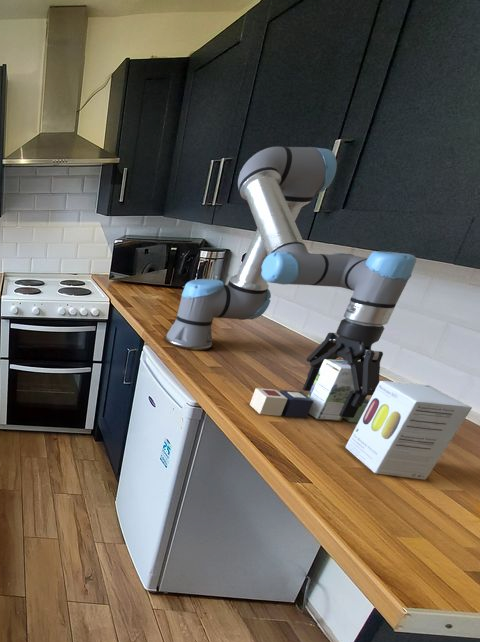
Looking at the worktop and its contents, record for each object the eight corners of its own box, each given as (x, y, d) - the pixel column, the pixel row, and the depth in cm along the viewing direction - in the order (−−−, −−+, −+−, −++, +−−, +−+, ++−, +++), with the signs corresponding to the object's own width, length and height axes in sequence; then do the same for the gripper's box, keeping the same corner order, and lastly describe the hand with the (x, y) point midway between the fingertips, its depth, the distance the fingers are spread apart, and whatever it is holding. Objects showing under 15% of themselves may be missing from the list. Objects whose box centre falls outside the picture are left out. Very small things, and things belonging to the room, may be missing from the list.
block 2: (273, 406, 105) (280, 389, 103) (293, 408, 105) (301, 391, 103) (284, 416, 101) (292, 398, 99) (306, 418, 100) (314, 400, 98)
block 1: (249, 404, 106) (255, 387, 104) (269, 406, 105) (276, 389, 103) (259, 414, 101) (266, 396, 99) (280, 416, 101) (288, 398, 99)
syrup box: (324, 410, 104) (348, 359, 99) (341, 422, 99) (367, 368, 93) (301, 408, 105) (323, 357, 99) (317, 420, 100) (341, 367, 94)
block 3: (334, 411, 104) (343, 394, 102) (355, 413, 103) (364, 396, 101) (349, 422, 99) (358, 403, 97) (371, 423, 99) (380, 405, 97)
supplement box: (343, 447, 89) (377, 379, 82) (390, 452, 88) (428, 383, 81) (375, 474, 80) (416, 401, 73) (428, 481, 79) (475, 406, 72)
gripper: (310, 306, 104) (281, 380, 112) (391, 338, 81) (346, 427, 90) (341, 308, 103) (309, 382, 112) (431, 341, 80) (383, 431, 89)
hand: (326, 402), depth 101 cm, fingers open, 13 cm apart
